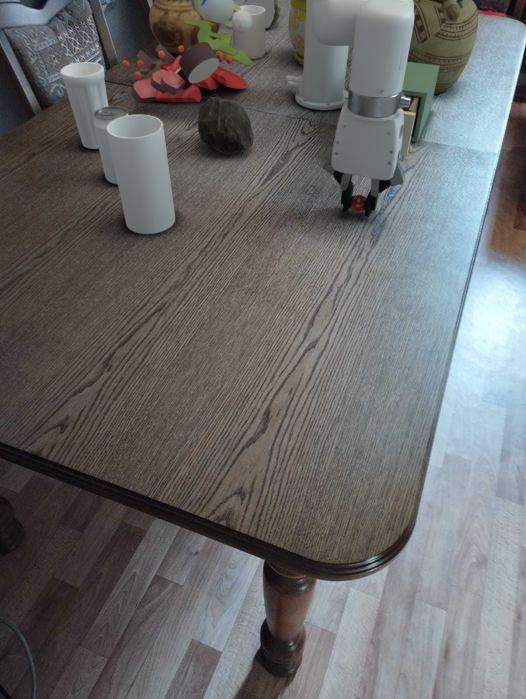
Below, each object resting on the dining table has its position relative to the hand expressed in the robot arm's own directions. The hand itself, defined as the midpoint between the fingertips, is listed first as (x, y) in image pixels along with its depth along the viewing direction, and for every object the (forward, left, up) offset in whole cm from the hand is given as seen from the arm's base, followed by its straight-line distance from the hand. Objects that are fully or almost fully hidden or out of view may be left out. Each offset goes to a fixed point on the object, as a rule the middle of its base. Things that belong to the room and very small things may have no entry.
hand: (357, 209), depth 93 cm
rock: (-31, +14, -1) cm, 34 cm away
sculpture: (-55, +96, -1) cm, 111 cm away
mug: (-48, +68, -1) cm, 83 cm away
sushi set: (-49, +37, -1) cm, 61 cm away
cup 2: (-32, -15, -1) cm, 35 cm away
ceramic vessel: (0, +61, -1) cm, 62 cm away
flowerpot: (-28, +69, -1) cm, 75 cm away
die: (0, 0, 0) cm, 0 cm away
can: (-44, -4, -1) cm, 44 cm away
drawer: (-2, +27, 0) cm, 27 cm away
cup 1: (-56, +6, -1) cm, 56 cm away
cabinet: (-2, +38, -1) cm, 39 cm away
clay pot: (-65, +64, -1) cm, 91 cm away
